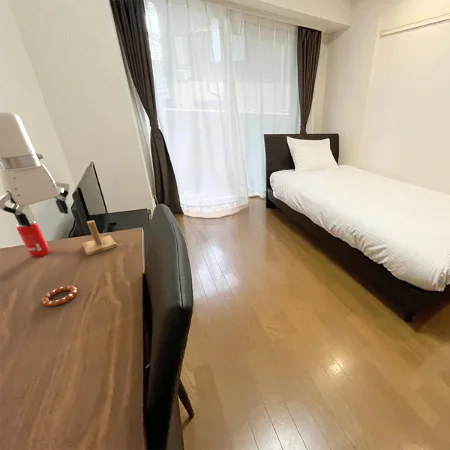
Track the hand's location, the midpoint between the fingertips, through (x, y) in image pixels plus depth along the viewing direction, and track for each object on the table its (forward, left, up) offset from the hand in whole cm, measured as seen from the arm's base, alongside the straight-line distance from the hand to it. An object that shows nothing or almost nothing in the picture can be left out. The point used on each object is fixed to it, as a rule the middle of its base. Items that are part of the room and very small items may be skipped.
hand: (46, 219), depth 81 cm
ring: (-4, -17, -17) cm, 24 cm away
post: (+10, +8, -17) cm, 22 cm away
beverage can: (-6, +16, -18) cm, 25 cm away
